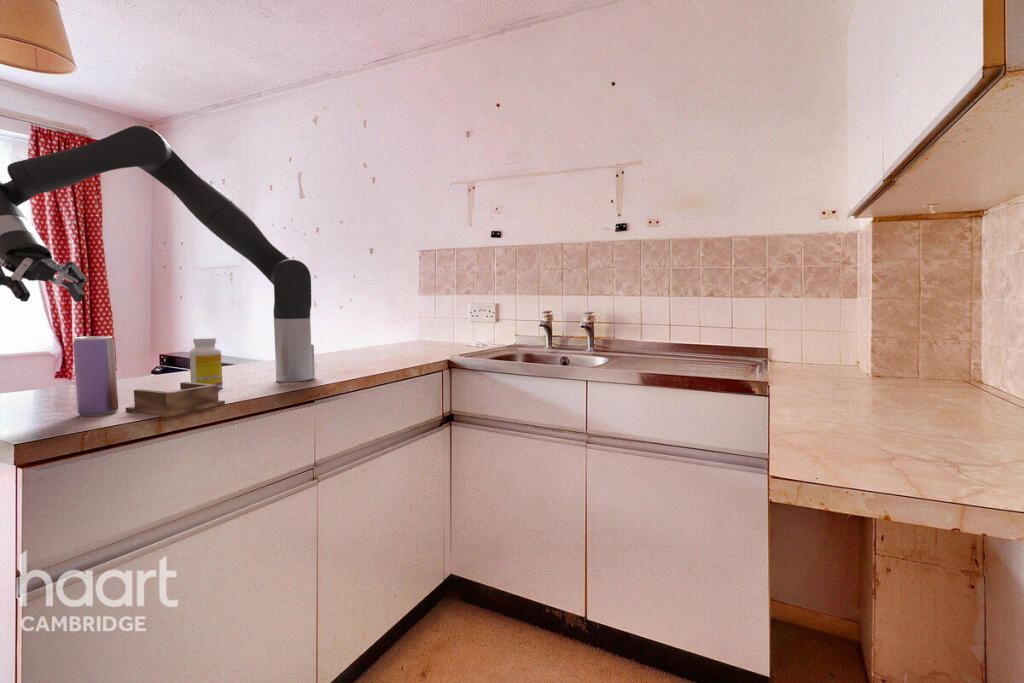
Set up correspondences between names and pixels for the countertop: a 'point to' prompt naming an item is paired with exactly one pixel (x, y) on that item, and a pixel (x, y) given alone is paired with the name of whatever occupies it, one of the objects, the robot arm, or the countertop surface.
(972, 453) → the countertop surface
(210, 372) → the supplement bottle
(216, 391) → the cradle
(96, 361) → the lavender tall block
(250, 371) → the countertop surface
